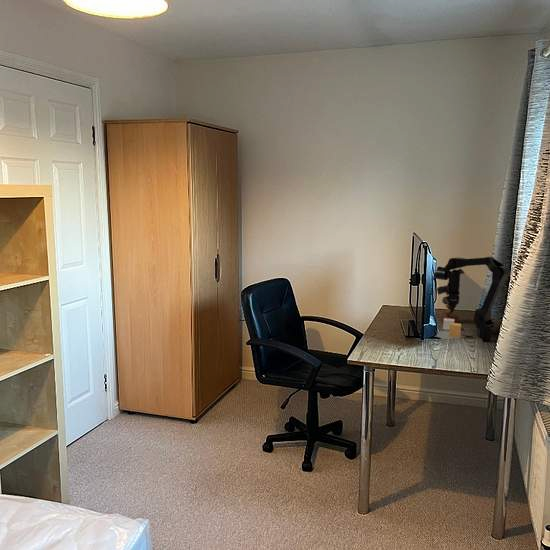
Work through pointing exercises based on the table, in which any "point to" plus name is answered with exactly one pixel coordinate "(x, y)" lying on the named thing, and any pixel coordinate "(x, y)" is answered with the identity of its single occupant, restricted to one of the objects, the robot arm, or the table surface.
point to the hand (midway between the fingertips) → (452, 310)
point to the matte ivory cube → (447, 323)
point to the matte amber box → (455, 330)
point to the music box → (448, 312)
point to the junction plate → (446, 335)
